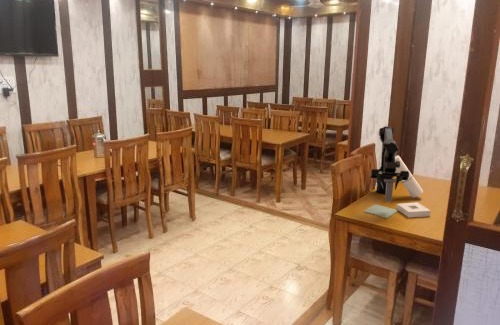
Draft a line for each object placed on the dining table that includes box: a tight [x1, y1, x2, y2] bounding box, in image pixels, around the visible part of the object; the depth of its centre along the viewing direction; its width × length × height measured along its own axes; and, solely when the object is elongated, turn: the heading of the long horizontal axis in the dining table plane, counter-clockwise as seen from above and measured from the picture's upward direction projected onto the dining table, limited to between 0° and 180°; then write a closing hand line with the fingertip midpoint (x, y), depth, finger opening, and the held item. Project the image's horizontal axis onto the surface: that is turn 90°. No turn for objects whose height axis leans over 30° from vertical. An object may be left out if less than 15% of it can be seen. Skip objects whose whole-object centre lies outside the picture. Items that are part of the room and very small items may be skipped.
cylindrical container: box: [395, 155, 424, 199], centre depth 226 cm, size 7×7×25 cm
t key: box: [384, 178, 396, 203], centre depth 202 cm, size 3×6×12 cm, turn 76°
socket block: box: [395, 202, 431, 219], centre depth 204 cm, size 12×12×3 cm
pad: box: [363, 204, 399, 219], centre depth 206 cm, size 13×13×1 cm
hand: (389, 188), depth 201 cm, fingers closed on t key, 5 cm apart
